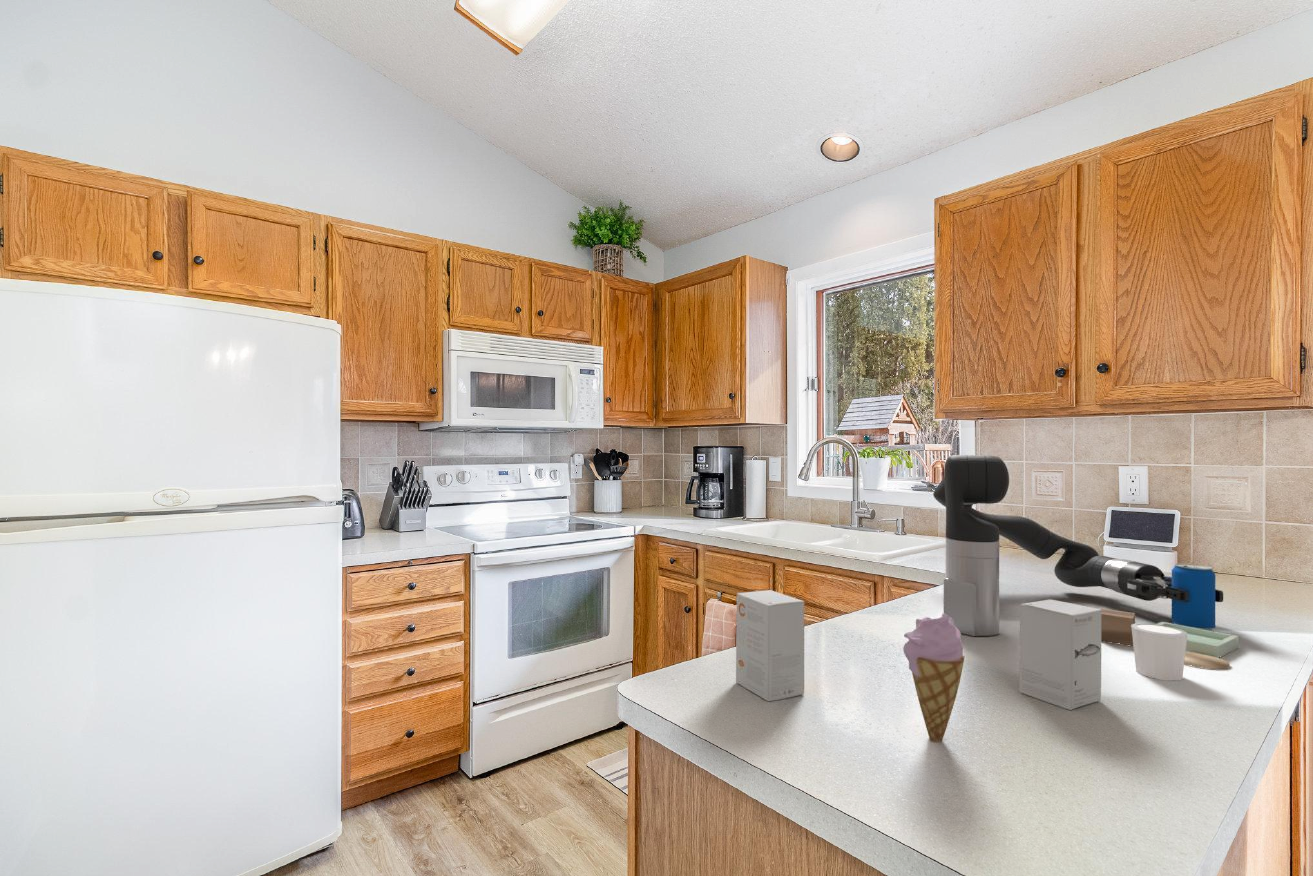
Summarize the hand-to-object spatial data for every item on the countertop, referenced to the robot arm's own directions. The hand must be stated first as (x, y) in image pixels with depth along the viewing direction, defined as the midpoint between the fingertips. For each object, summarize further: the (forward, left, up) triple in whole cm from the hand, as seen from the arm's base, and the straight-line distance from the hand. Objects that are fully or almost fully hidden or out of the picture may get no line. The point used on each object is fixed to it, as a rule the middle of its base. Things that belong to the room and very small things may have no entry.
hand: (1204, 596), depth 121 cm
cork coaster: (-22, -5, -7) cm, 23 cm away
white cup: (-35, -4, -7) cm, 36 cm away
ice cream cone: (-85, +2, -7) cm, 85 cm away
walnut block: (-20, +7, -7) cm, 22 cm away
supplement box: (-58, 0, -7) cm, 58 cm away
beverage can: (+1, +2, -7) cm, 7 cm away
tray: (-12, -1, -7) cm, 14 cm away
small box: (-90, +24, -7) cm, 93 cm away
